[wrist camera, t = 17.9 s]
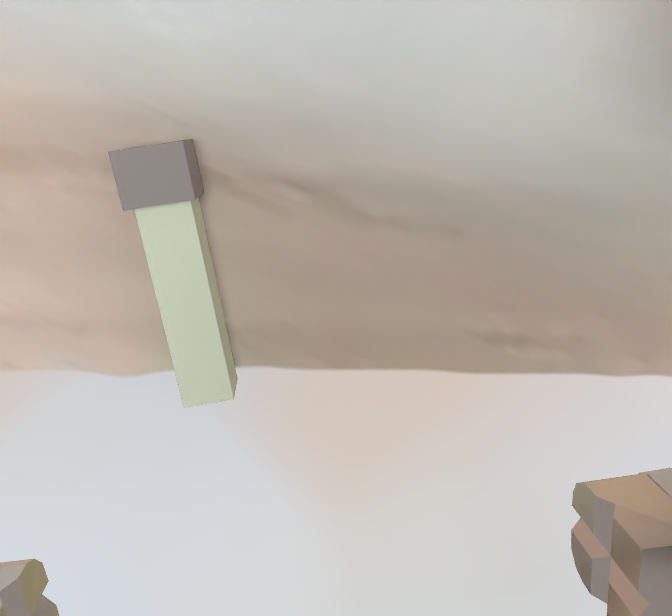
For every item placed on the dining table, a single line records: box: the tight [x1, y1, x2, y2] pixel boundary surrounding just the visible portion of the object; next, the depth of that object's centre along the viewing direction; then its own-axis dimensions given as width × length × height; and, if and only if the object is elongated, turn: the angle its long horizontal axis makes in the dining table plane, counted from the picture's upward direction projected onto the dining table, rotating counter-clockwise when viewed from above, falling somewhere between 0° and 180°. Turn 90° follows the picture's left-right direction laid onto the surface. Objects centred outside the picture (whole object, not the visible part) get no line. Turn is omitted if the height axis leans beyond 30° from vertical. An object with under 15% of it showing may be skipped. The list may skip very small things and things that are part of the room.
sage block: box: [108, 139, 237, 408], centre depth 45 cm, size 5×20×5 cm, turn 8°
